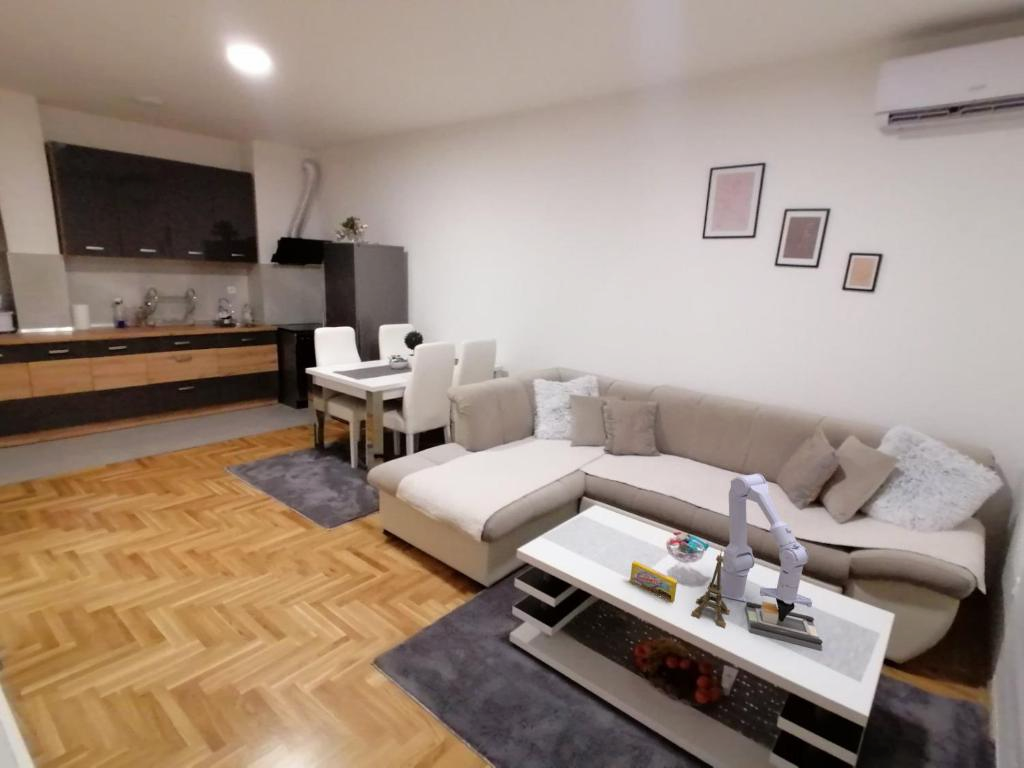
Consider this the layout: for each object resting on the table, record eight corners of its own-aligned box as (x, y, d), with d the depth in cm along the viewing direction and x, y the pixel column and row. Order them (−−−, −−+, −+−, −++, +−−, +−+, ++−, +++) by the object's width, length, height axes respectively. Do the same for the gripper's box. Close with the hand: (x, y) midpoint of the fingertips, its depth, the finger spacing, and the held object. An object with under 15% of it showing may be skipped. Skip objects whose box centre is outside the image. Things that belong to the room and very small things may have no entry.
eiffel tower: (729, 610, 171) (742, 543, 165) (724, 628, 162) (737, 558, 156) (697, 599, 176) (708, 533, 170) (690, 615, 167) (702, 547, 161)
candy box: (629, 582, 183) (631, 562, 181) (631, 580, 184) (634, 559, 182) (672, 603, 172) (675, 582, 171) (674, 601, 174) (678, 579, 172)
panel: (749, 632, 161) (750, 624, 160) (744, 607, 173) (746, 599, 172) (821, 650, 155) (823, 642, 154) (811, 623, 167) (813, 615, 166)
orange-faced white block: (762, 622, 163) (764, 610, 162) (760, 613, 168) (762, 601, 167) (776, 626, 162) (778, 613, 161) (773, 616, 167) (776, 604, 166)
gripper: (765, 583, 159) (757, 621, 162) (817, 595, 155) (808, 634, 158) (762, 571, 165) (754, 608, 168) (812, 582, 161) (803, 619, 164)
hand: (780, 619), depth 164 cm, fingers closed
